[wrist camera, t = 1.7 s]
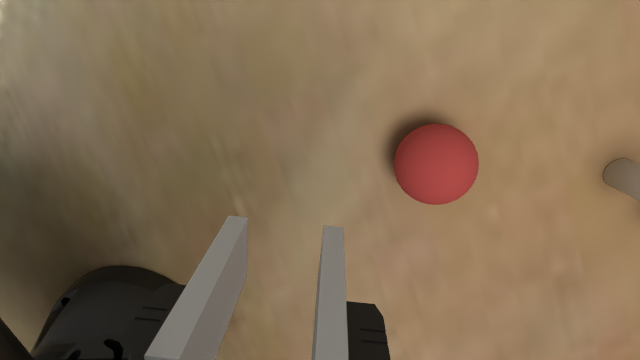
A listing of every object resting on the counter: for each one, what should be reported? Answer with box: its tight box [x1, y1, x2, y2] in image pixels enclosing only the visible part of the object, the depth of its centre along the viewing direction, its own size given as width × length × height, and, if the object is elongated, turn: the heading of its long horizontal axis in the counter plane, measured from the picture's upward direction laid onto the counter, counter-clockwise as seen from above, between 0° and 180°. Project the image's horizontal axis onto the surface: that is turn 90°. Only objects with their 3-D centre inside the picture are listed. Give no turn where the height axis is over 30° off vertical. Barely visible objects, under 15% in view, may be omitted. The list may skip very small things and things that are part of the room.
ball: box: [394, 124, 479, 205], centre depth 27 cm, size 6×6×6 cm
